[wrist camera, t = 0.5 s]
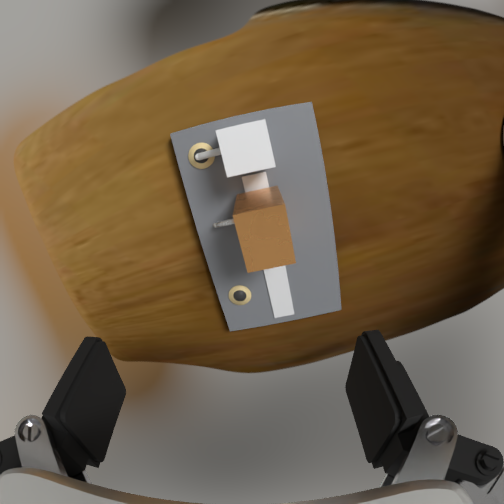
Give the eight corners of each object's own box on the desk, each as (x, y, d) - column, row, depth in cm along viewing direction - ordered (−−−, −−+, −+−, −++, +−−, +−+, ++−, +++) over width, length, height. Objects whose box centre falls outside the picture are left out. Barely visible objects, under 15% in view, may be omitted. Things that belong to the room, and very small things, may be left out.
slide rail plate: (308, 103, 27) (323, 97, 21) (338, 303, 36) (352, 335, 30) (173, 133, 28) (154, 135, 22) (230, 324, 37) (227, 359, 31)
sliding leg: (277, 185, 28) (285, 204, 22) (286, 232, 30) (296, 263, 24) (207, 201, 29) (194, 223, 22) (220, 246, 31) (212, 279, 24)
